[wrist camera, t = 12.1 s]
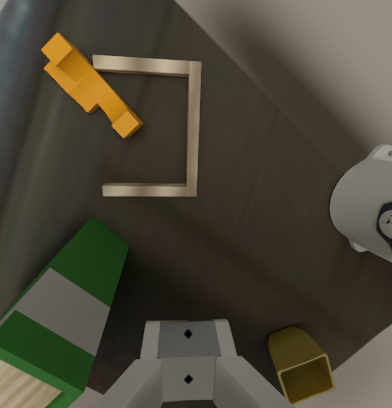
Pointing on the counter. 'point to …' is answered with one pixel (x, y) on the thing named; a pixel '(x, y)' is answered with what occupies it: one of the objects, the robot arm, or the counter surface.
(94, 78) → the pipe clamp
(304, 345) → the flower pot
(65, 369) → the hardback book
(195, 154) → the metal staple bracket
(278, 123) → the counter surface
